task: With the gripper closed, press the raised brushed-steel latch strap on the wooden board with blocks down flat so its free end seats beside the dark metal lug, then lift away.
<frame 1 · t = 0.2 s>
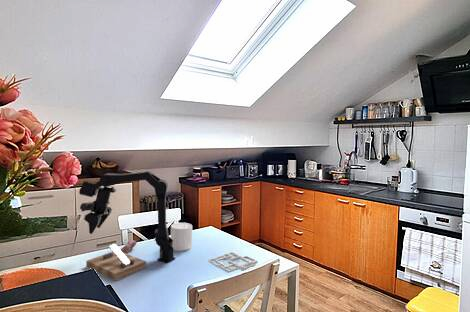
hand: (94, 230, 144), 15 cm above the table, tool pointing down, fingers open, 9 cm apart
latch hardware: (117, 259, 139), on the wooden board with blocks, point 3 cm above the table
cup: (181, 247, 167), on the table
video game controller: (128, 252, 158), on the table
latch strap: (120, 255, 138), point 7 cm above the table, hinge at 28.0°
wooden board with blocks: (116, 267, 140), on the table
floor plan model: (239, 262, 151), on the table
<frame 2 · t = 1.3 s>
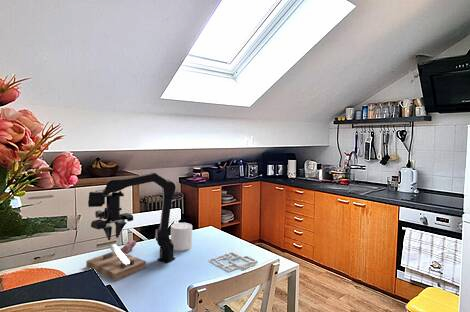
hand: (113, 238, 140), 13 cm above the table, tool pointing down, fingers open, 4 cm apart
nothing on the table moved.
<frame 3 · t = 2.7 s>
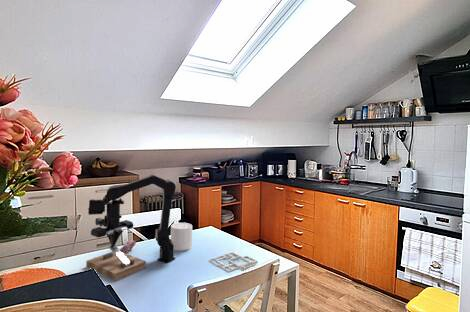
hand: (112, 246, 140), 9 cm above the table, tool pointing down, fingers closed, pressing on latch strap
latch strap: (119, 255, 138), point 6 cm above the table, hinge at 26.2°, touching gripper
everything else where it was.
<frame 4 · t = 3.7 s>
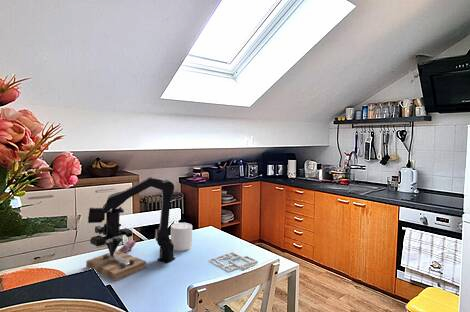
hand: (111, 254, 141), 5 cm above the table, tool pointing down, fingers closed, pressing on latch strap
latch strap: (118, 258, 138), point 4 cm above the table, hinge at 7.5°, touching gripper
everything else where it was.
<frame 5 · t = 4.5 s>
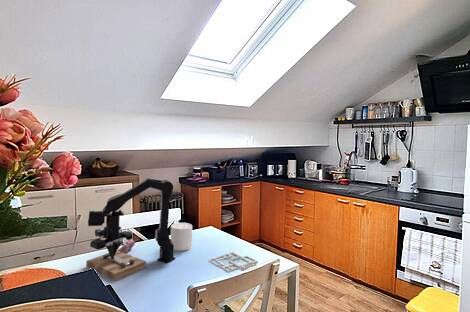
hand: (112, 257, 141), 4 cm above the table, tool pointing down, fingers closed, pressing on latch strap
latch strap: (118, 260, 138), point 4 cm above the table, hinge at 0.6°, touching gripper
everything else where it was.
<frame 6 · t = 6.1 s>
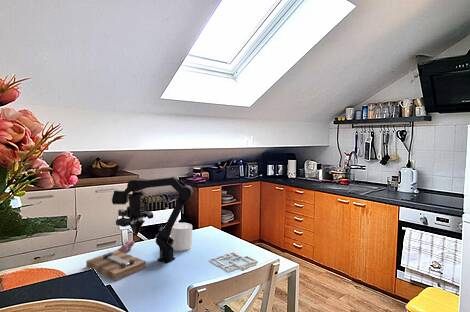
hand: (135, 235, 148), 12 cm above the table, tool pointing down, fingers closed
latch strap: (118, 260, 138), point 4 cm above the table, hinge at 0.6°
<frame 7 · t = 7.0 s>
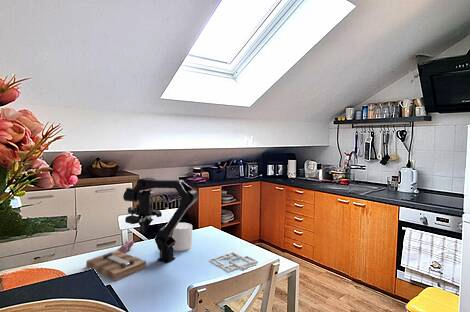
hand: (144, 233, 152), 12 cm above the table, tool pointing down, fingers closed
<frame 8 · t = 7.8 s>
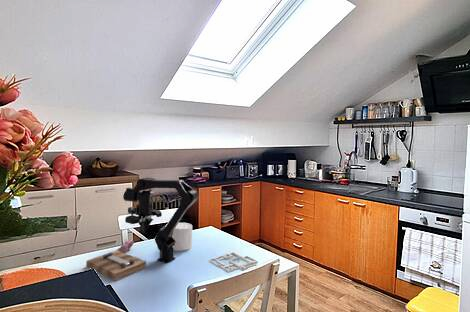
hand: (144, 233, 152), 12 cm above the table, tool pointing down, fingers closed
at the end: latch strap at +1° (first picture: +28°); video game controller moved 1.6 cm from its start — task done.
